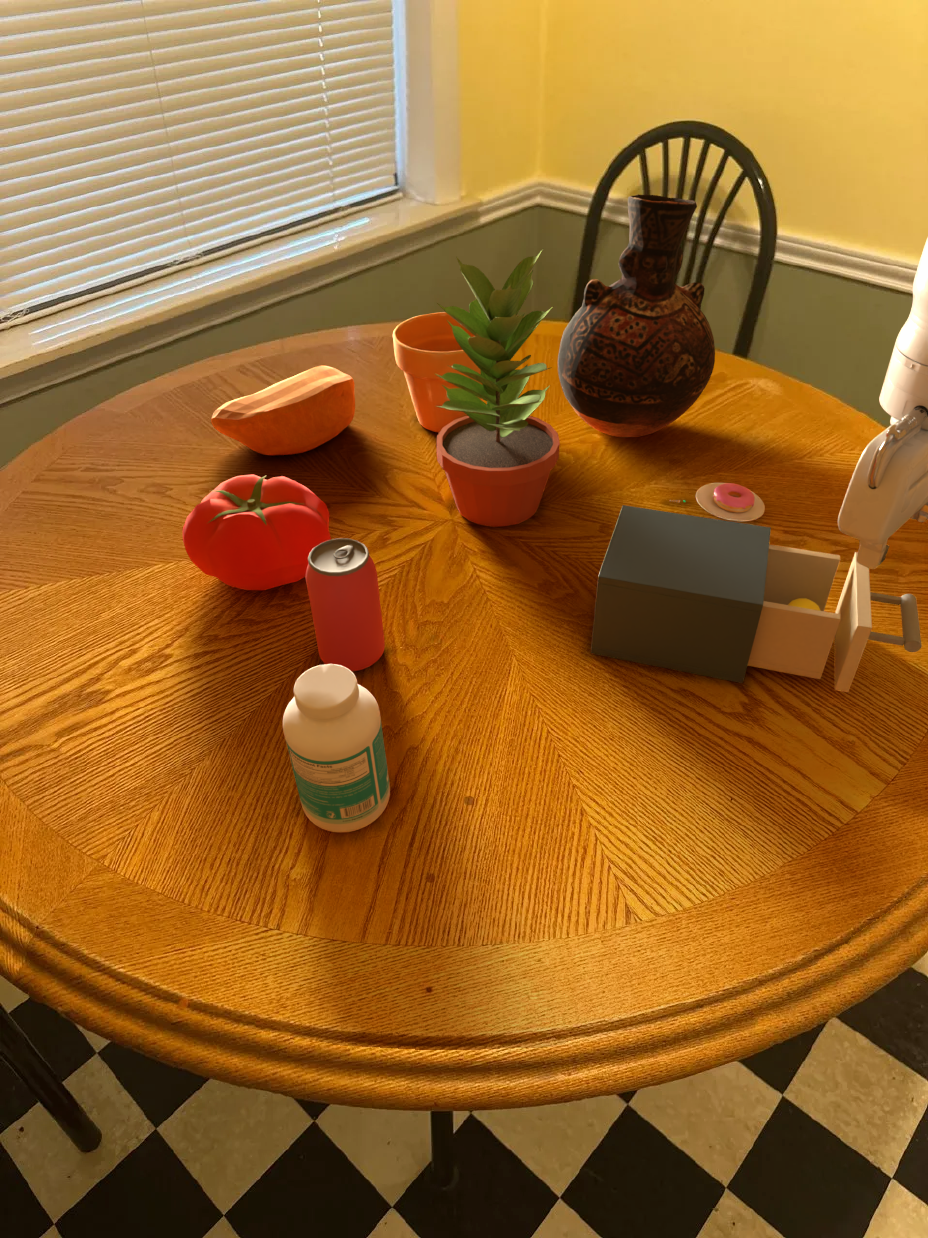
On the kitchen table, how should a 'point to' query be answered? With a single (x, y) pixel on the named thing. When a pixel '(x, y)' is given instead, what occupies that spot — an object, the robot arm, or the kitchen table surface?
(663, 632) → the drawer cabinet
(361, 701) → the pill bottle
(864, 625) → the wooden pull-out drawer
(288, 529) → the tomato
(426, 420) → the flower pot
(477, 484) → the potted plant
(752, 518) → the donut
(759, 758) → the kitchen table surface
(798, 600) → the light bulb
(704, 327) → the ceramic vessel
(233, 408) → the orange oblong lump
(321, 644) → the beer can
